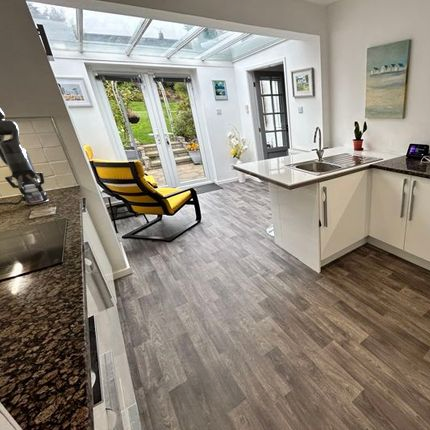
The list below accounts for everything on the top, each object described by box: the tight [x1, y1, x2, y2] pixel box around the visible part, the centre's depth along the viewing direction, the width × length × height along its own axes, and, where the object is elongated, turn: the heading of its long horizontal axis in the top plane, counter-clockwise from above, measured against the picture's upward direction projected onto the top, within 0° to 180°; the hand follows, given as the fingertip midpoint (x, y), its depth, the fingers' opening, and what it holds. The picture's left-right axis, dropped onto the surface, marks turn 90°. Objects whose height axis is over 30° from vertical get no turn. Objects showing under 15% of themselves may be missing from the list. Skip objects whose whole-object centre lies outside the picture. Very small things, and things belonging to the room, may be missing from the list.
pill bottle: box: [24, 184, 43, 202], centre depth 140 cm, size 5×5×9 cm
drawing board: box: [28, 206, 57, 221], centre depth 146 cm, size 16×10×1 cm, turn 42°
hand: (33, 193), depth 140 cm, fingers closed on pill bottle, 5 cm apart
